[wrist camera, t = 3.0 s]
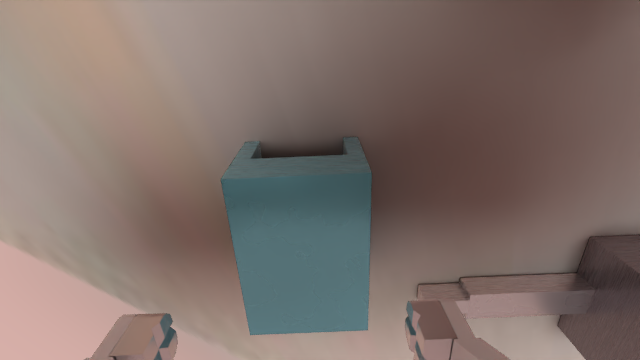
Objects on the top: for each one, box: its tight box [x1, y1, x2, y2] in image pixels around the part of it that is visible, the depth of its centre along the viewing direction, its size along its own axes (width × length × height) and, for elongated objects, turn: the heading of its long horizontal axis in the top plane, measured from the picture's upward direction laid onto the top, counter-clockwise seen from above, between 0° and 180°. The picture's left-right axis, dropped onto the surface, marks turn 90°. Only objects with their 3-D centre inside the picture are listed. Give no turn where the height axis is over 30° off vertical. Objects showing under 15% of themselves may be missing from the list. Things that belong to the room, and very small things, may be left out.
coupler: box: [417, 235, 640, 360], centre depth 17 cm, size 16×7×6 cm, turn 93°
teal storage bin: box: [221, 137, 372, 335], centre depth 15 cm, size 8×6×4 cm
